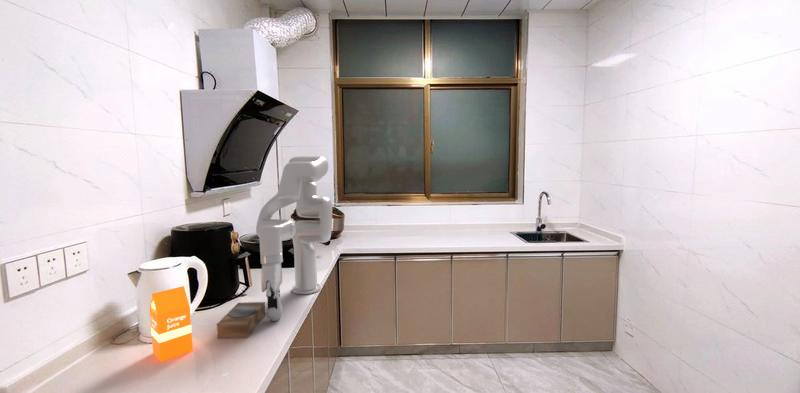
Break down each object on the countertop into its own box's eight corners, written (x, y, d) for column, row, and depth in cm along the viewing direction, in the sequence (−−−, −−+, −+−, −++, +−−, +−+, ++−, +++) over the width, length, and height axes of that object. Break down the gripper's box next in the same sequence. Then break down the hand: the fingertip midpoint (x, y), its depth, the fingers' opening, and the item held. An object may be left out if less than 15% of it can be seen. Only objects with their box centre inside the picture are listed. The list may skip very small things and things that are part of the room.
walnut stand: (239, 315, 140) (238, 301, 140) (265, 314, 141) (264, 300, 140) (217, 338, 122) (216, 322, 122) (248, 337, 123) (247, 322, 122)
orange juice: (193, 350, 115) (188, 288, 113) (160, 362, 108) (155, 297, 106) (184, 342, 120) (180, 283, 118) (152, 353, 113) (147, 290, 111)
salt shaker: (277, 313, 140) (275, 280, 138) (286, 317, 136) (284, 284, 134) (263, 319, 135) (261, 285, 134) (272, 323, 132) (270, 288, 130)
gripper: (268, 251, 141) (270, 297, 143) (253, 265, 124) (256, 317, 127) (288, 251, 141) (290, 297, 143) (275, 265, 125) (278, 316, 127)
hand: (274, 306), depth 135 cm, fingers closed on salt shaker, 3 cm apart
